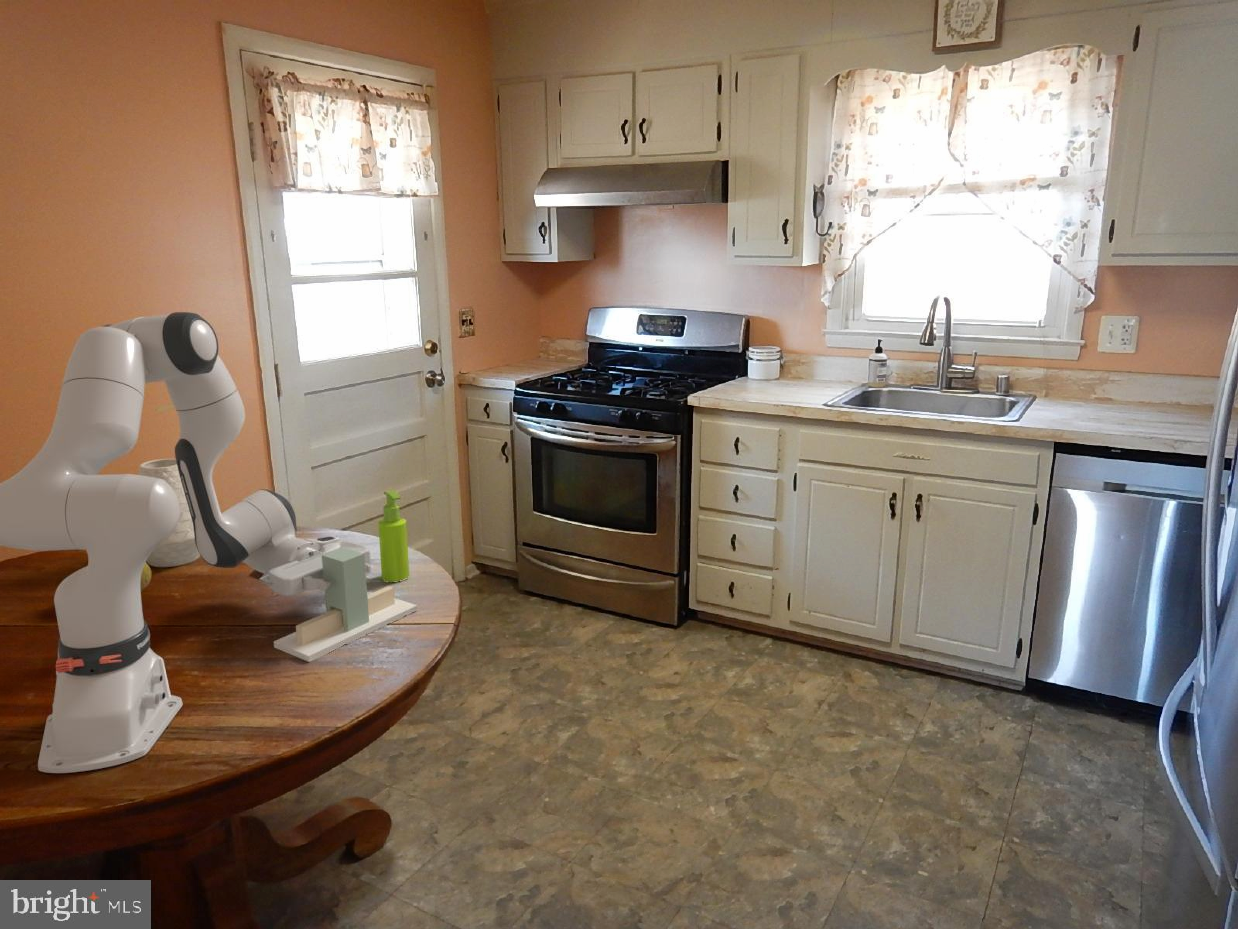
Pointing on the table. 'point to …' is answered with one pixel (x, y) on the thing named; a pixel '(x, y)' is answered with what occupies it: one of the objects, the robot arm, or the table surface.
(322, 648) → the rail board
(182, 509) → the vase
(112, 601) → the robot arm
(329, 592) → the tall rectangular block
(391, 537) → the soap dispenser
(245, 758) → the table surface
